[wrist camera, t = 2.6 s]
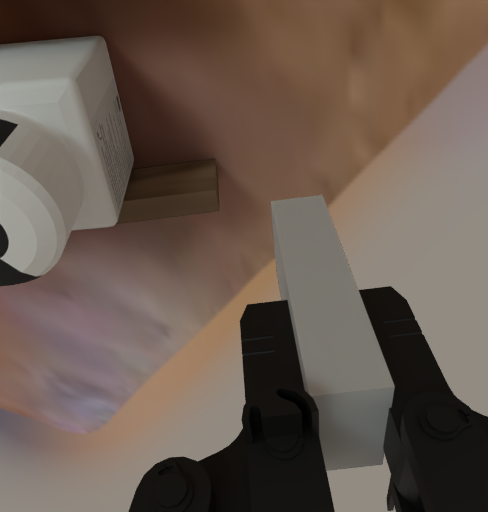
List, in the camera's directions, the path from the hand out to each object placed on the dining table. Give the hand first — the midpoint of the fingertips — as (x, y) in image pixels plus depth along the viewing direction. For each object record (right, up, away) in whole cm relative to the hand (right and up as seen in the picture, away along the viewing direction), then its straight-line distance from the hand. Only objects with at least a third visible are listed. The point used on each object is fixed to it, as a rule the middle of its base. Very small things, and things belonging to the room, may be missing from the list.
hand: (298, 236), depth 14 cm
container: (-13, +8, +14) cm, 21 cm away
